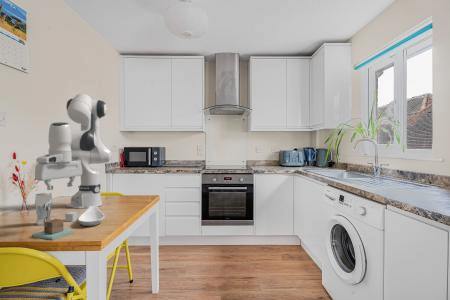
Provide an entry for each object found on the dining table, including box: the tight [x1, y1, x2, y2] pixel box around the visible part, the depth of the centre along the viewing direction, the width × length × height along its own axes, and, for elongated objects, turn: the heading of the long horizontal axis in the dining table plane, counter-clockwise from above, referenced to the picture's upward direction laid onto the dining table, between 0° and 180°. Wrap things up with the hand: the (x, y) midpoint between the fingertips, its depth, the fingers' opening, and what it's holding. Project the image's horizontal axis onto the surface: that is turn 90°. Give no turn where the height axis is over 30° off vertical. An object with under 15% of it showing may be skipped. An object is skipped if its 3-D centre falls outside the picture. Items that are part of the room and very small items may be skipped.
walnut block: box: [43, 218, 64, 235], centre depth 111 cm, size 5×5×5 cm
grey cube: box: [64, 211, 79, 223], centre depth 133 cm, size 4×4×4 cm
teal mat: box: [32, 228, 75, 241], centre depth 111 cm, size 12×10×1 cm
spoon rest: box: [77, 206, 105, 227], centre depth 131 cm, size 24×12×7 cm, turn 25°
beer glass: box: [34, 192, 53, 226], centre depth 127 cm, size 7×7×15 cm
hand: (60, 188), depth 115 cm, fingers open, 8 cm apart
